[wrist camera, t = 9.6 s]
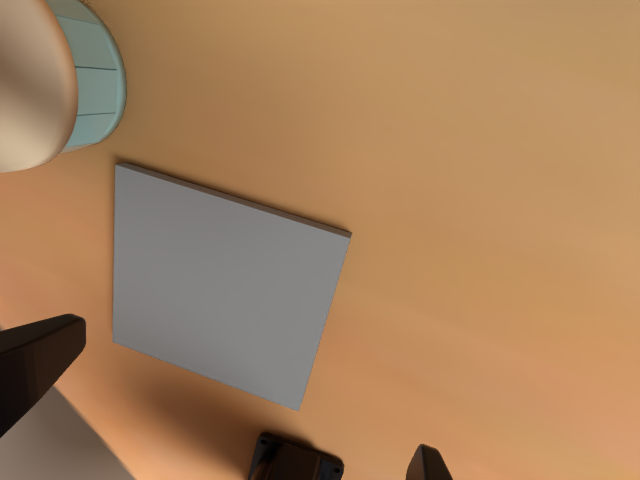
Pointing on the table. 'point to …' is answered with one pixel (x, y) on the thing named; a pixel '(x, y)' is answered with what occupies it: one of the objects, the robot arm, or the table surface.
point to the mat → (221, 283)
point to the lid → (34, 85)
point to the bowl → (92, 73)
